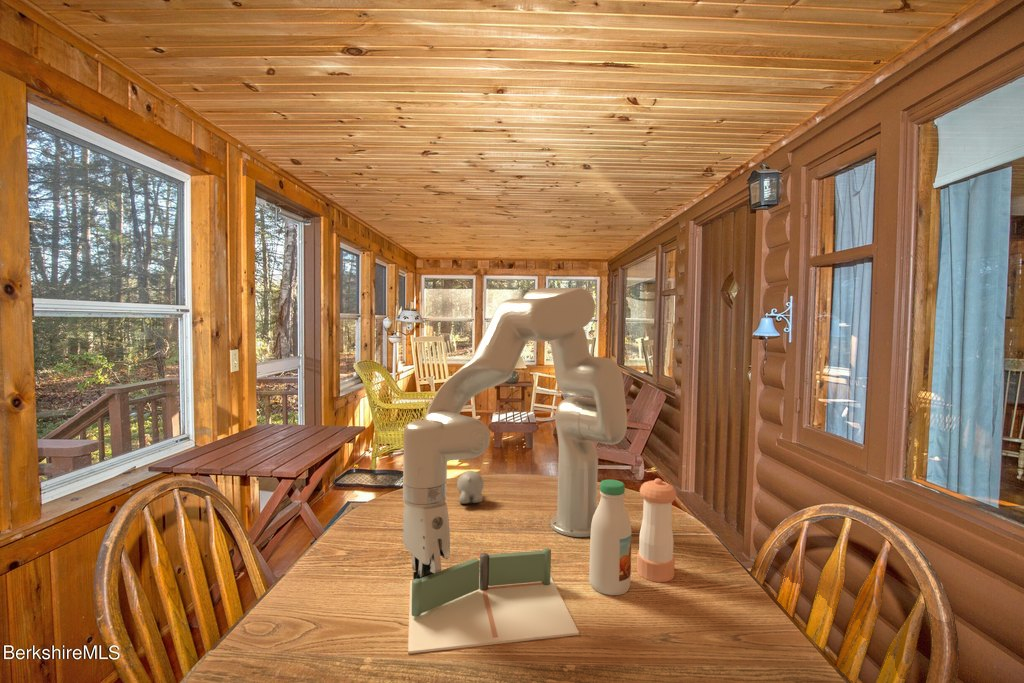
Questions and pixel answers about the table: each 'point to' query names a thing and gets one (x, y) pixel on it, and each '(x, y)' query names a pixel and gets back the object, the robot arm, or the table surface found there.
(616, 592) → the milk bottle
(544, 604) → the card
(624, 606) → the table surface
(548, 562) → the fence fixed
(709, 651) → the table surface
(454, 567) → the fence panel
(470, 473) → the chubby cartoon animal
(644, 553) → the salt shaker
